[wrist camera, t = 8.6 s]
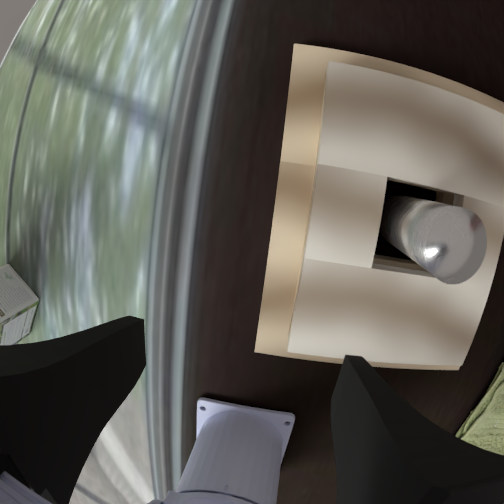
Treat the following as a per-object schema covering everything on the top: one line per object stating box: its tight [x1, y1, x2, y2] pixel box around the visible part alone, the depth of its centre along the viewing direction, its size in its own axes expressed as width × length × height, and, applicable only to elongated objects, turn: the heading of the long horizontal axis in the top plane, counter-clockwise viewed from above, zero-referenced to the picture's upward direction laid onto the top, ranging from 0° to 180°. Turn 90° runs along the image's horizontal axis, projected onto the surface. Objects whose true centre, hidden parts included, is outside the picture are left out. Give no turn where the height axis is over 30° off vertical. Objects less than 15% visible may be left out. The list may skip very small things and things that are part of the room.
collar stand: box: [255, 44, 504, 370], centre depth 16 cm, size 20×16×4 cm
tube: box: [379, 195, 487, 284], centre depth 14 cm, size 3×3×8 cm
